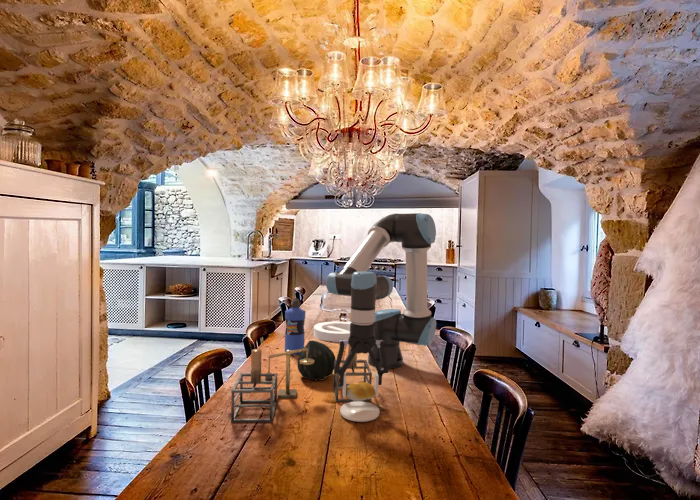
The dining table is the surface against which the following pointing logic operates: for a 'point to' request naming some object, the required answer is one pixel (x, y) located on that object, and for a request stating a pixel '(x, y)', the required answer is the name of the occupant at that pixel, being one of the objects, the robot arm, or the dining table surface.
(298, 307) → the water bottle
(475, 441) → the dining table surface
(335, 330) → the ring with crossbar
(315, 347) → the squash
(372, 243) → the robot arm
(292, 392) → the balance
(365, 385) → the bread roll
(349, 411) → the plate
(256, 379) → the wire frame cage
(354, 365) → the metal bar cube frame
